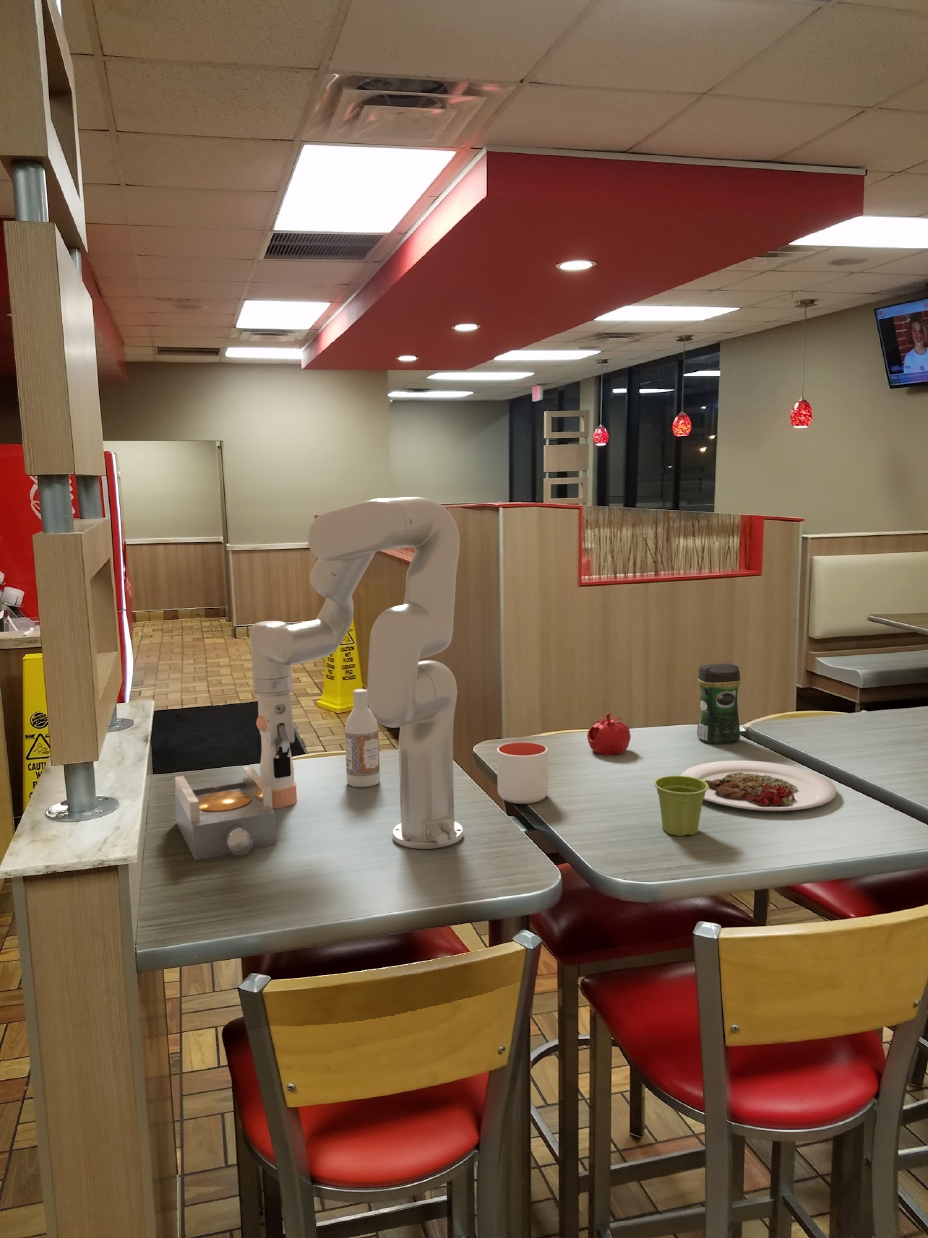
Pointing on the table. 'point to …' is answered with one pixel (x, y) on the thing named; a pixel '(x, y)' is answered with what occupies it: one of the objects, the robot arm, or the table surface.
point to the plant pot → (680, 803)
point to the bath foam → (362, 744)
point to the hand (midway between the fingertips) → (276, 770)
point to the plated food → (762, 785)
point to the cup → (522, 772)
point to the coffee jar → (718, 703)
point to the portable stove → (226, 815)
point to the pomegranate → (609, 736)
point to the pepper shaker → (280, 787)
